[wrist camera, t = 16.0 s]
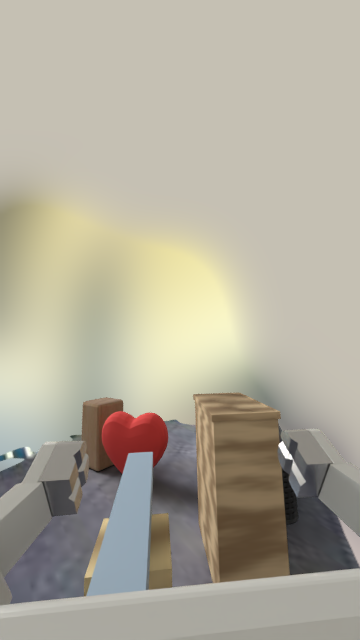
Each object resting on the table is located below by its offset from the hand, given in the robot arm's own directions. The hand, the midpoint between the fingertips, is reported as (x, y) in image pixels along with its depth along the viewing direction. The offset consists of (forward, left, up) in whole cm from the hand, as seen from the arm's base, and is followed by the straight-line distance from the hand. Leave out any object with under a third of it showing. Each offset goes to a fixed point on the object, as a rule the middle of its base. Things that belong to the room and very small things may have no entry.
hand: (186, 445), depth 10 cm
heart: (+43, +47, -31) cm, 71 cm away
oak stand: (+35, +14, -31) cm, 49 cm away
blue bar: (+12, +16, -16) cm, 26 cm away
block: (+46, +65, -31) cm, 85 cm away
